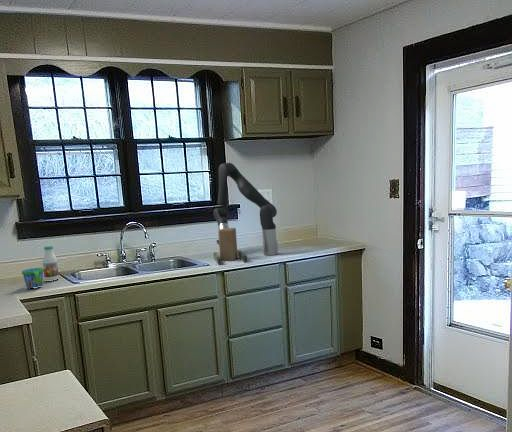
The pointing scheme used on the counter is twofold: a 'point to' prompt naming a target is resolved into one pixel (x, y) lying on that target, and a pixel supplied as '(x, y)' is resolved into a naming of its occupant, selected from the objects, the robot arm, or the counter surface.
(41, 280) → the snack cup
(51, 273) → the milk bottle
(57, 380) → the counter surface
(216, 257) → the lane
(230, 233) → the block
